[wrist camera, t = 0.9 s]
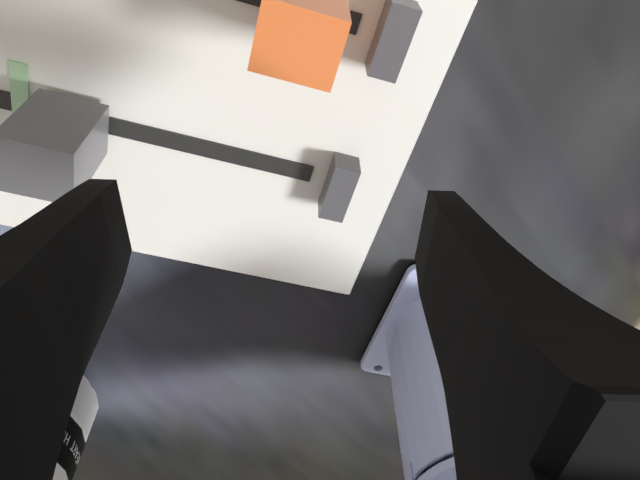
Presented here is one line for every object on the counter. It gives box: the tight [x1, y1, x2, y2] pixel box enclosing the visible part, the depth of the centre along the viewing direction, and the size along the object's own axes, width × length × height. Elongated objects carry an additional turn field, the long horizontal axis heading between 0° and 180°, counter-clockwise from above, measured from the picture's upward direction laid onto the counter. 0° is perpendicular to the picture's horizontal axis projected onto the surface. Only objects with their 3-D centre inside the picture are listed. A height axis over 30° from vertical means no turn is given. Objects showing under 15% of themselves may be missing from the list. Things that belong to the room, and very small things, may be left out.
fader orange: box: [247, 0, 352, 93], centre depth 16 cm, size 2×2×4 cm
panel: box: [0, 0, 478, 295], centre depth 19 cm, size 19×18×2 cm
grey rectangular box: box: [0, 88, 109, 202], centre depth 18 cm, size 2×2×4 cm
